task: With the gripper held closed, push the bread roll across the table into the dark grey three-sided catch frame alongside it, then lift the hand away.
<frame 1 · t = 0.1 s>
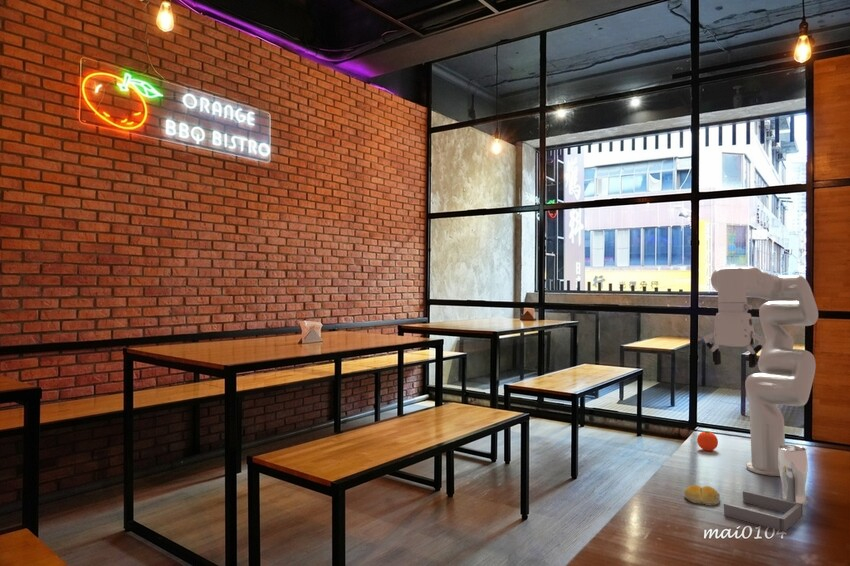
hand: (734, 365, 165), 37 cm above the table, tool pointing down, fingers open, 9 cm apart
catch frame: (763, 515, 145), on the table
bread roll: (702, 501, 157), on the table
beer glass: (794, 502, 154), on the table
clementine: (708, 450, 204), on the table
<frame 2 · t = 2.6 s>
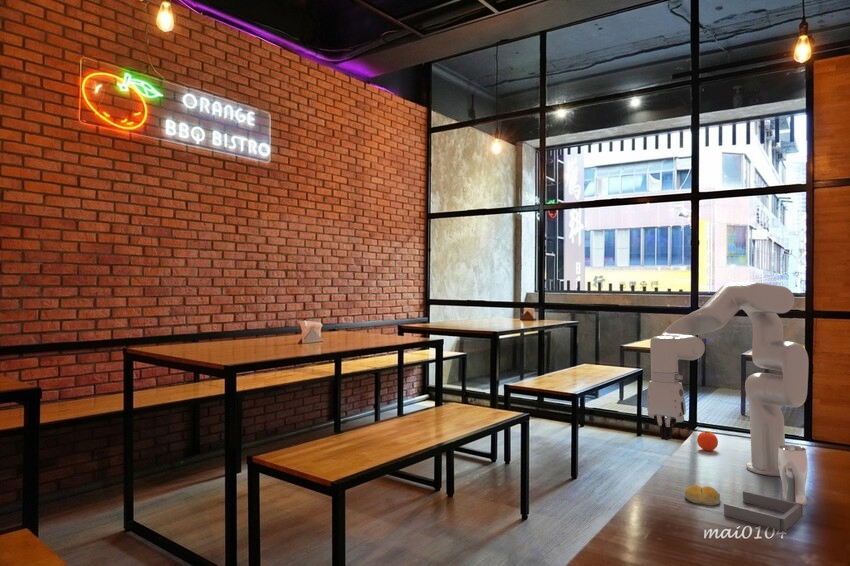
hand: (666, 438, 165), 15 cm above the table, tool pointing down, fingers closed
nothing on the table moved.
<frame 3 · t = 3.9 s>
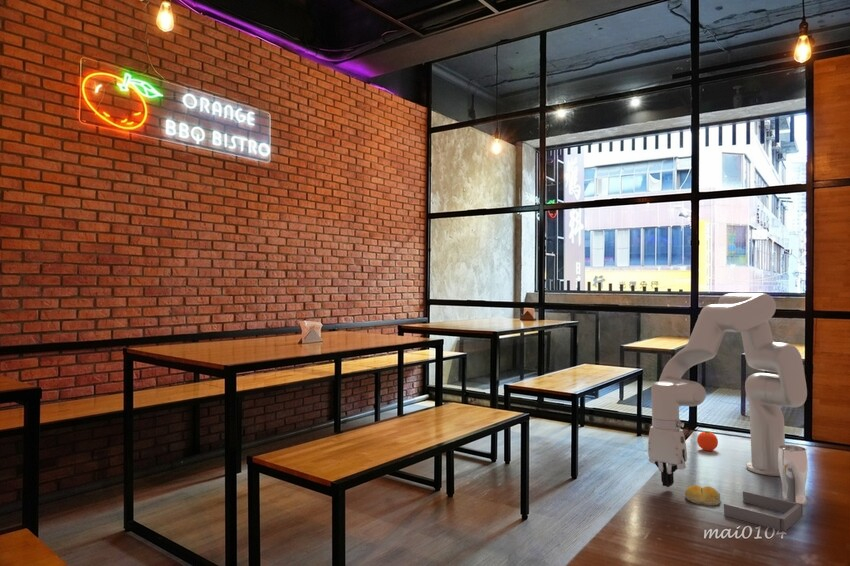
hand: (667, 485, 165), 2 cm above the table, tool pointing down, fingers closed
nothing on the table moved.
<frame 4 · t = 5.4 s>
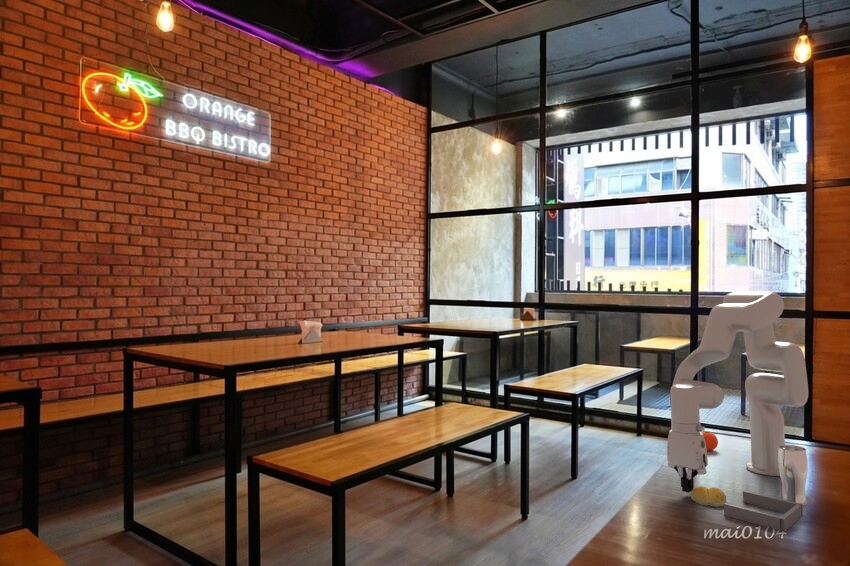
hand: (687, 490, 160), 1 cm above the table, tool pointing down, fingers closed
bread roll: (709, 502, 155), on the table
everything else where it was.
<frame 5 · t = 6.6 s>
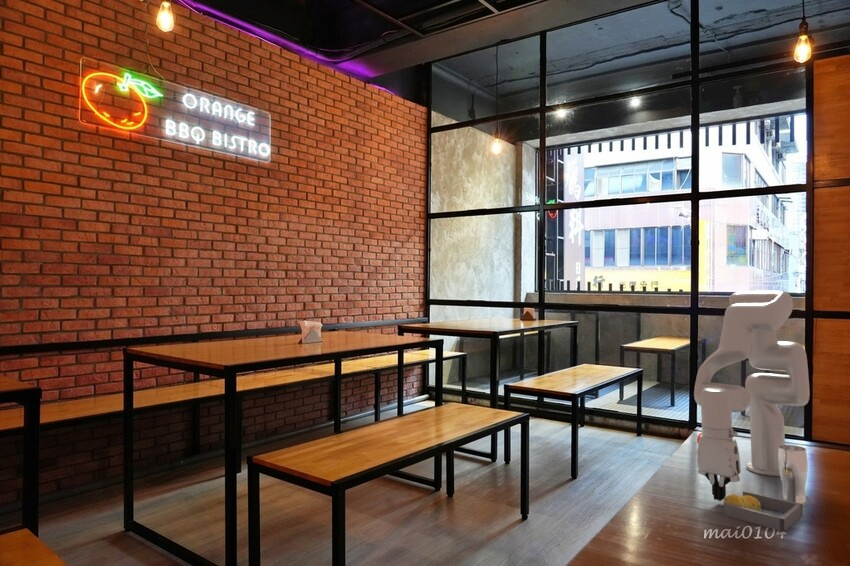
hand: (719, 498, 153), 1 cm above the table, tool pointing down, fingers closed
bread roll: (743, 511, 149), on the table
everything else where it was.
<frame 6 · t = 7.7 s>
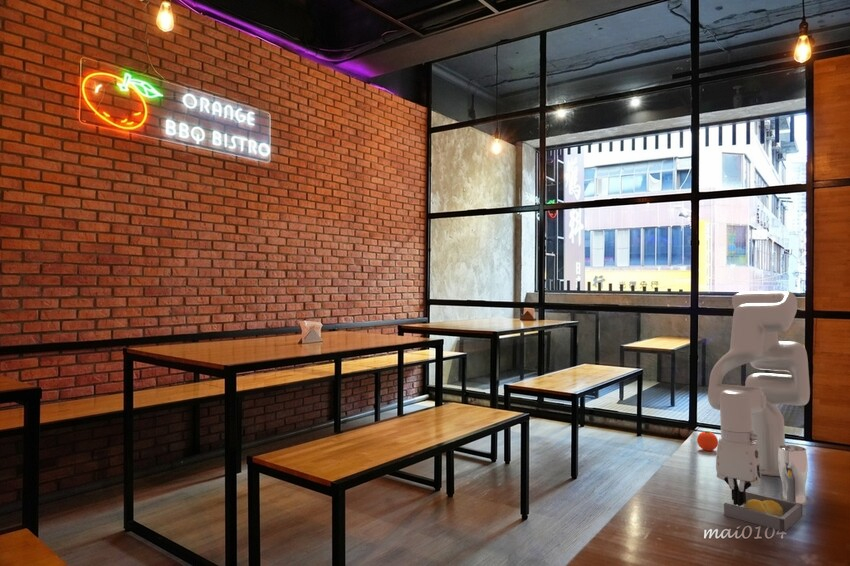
hand: (739, 504, 149), 1 cm above the table, tool pointing down, fingers closed
bread roll: (764, 516, 145), on the table, touching gripper
everything else where it was.
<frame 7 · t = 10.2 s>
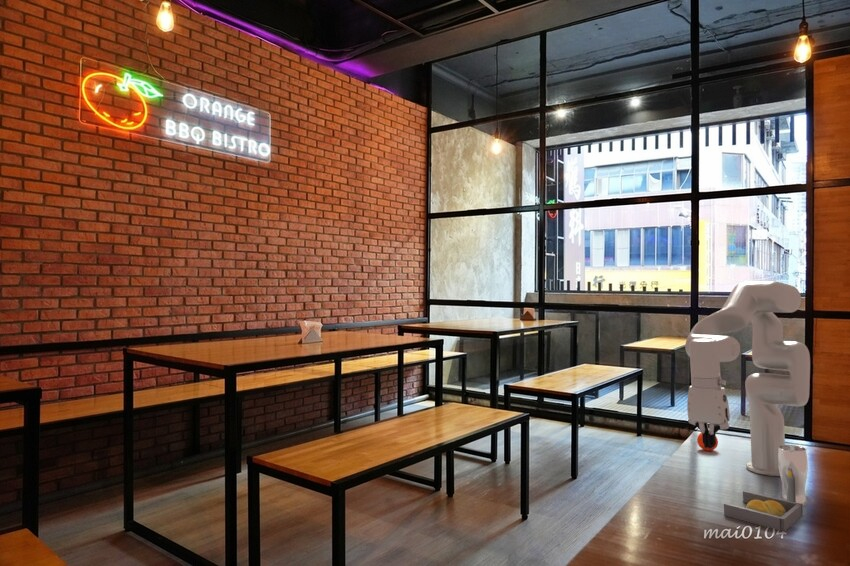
hand: (709, 446, 156), 15 cm above the table, tool pointing down, fingers closed
bread roll: (767, 516, 145), on the table
everything else where it was.
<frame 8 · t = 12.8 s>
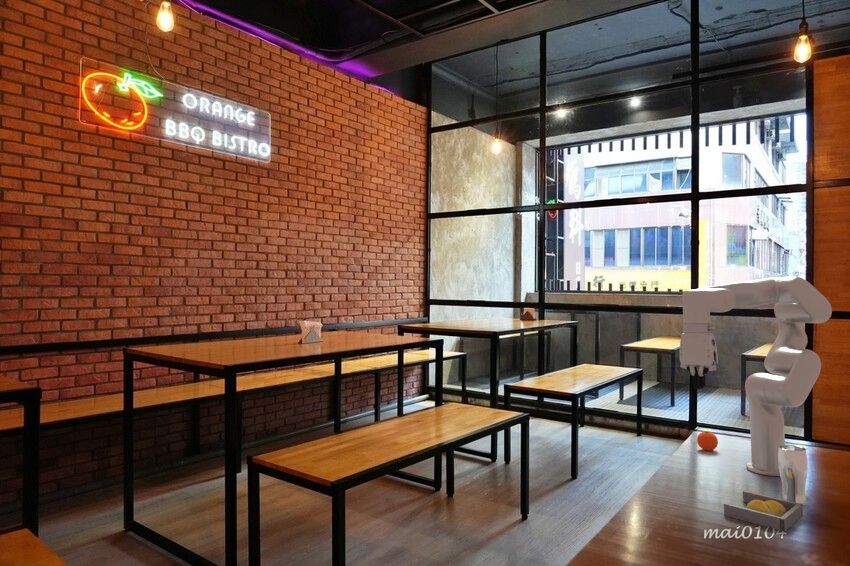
hand: (699, 388, 171), 29 cm above the table, tool pointing down, fingers closed
nothing on the table moved.
at the end: bread roll inside the target area (1.0 cm from its centre), on the table; bread roll moved 16.2 cm from its start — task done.
